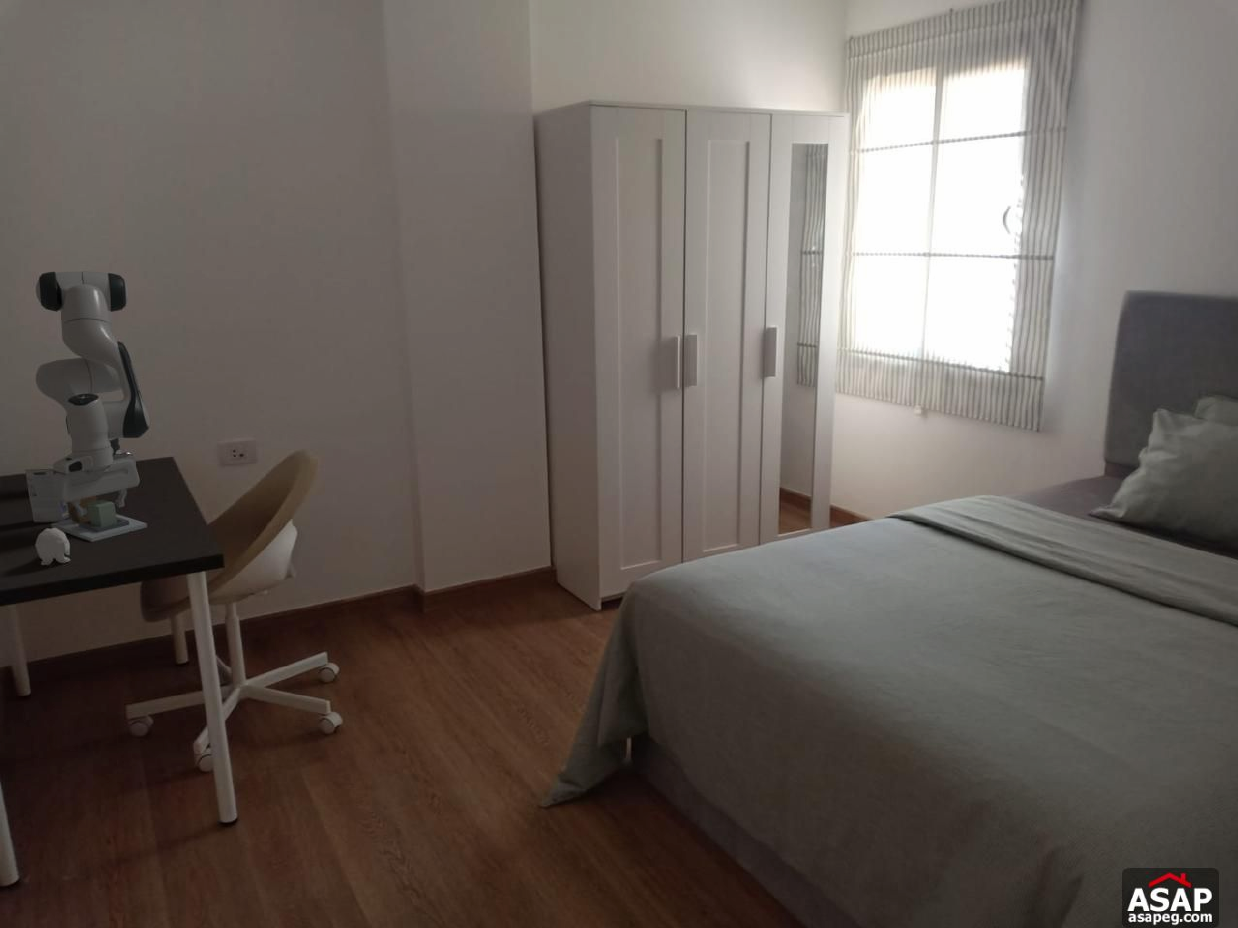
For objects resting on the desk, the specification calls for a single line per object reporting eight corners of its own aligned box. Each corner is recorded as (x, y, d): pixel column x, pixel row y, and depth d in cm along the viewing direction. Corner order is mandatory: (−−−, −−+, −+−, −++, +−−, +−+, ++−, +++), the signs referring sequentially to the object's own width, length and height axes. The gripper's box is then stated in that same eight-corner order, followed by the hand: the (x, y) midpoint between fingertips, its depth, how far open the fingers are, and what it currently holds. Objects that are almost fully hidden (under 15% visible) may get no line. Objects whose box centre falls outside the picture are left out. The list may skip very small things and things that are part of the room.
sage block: (90, 525, 249) (87, 503, 248) (106, 521, 252) (103, 499, 251) (102, 529, 246) (98, 506, 244) (117, 525, 249) (114, 502, 247)
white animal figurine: (31, 532, 218) (41, 523, 229) (37, 569, 220) (47, 558, 231) (63, 528, 221) (71, 519, 232) (68, 565, 222) (77, 554, 233)
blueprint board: (51, 527, 252) (47, 501, 251) (106, 514, 263) (102, 489, 261) (91, 541, 239) (87, 514, 238) (147, 527, 250) (143, 501, 248)
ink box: (41, 518, 261) (32, 466, 257) (70, 518, 260) (61, 465, 257) (33, 522, 257) (23, 469, 253) (63, 522, 257) (53, 469, 253)
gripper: (127, 449, 255) (135, 499, 258) (45, 465, 239) (55, 518, 242) (139, 452, 251) (147, 503, 254) (57, 468, 235) (66, 523, 239)
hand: (101, 511), depth 248 cm, fingers open, 8 cm apart
